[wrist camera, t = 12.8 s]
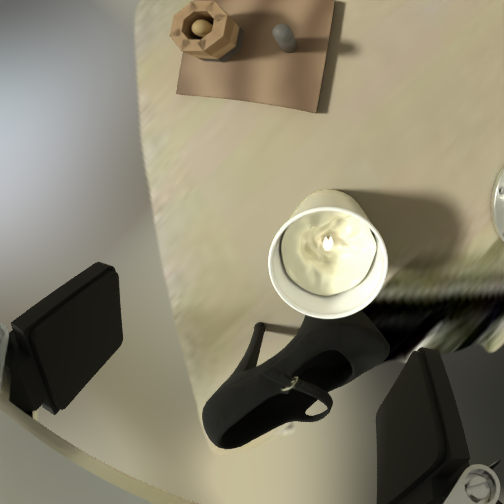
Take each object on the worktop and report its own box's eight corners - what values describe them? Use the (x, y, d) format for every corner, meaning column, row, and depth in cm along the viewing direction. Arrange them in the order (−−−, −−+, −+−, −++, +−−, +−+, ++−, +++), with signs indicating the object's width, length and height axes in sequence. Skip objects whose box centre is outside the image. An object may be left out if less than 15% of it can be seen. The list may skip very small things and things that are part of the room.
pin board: (334, 2, 26) (334, -25, 20) (316, 113, 32) (313, 108, 25) (200, -8, 28) (174, -29, 22) (180, 94, 34) (149, 89, 28)
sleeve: (246, 19, 28) (230, 0, 22) (238, 63, 30) (220, 52, 25) (199, 17, 29) (176, 2, 23) (190, 60, 31) (166, 50, 26)
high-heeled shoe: (384, 333, 39) (401, 458, 21) (251, 349, 45) (205, 462, 27) (379, 281, 37) (406, 404, 19) (235, 303, 43) (173, 414, 25)
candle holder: (352, 169, 33) (364, 188, 22) (382, 247, 35) (401, 298, 24) (273, 201, 36) (247, 234, 26) (306, 275, 39) (295, 332, 28)
